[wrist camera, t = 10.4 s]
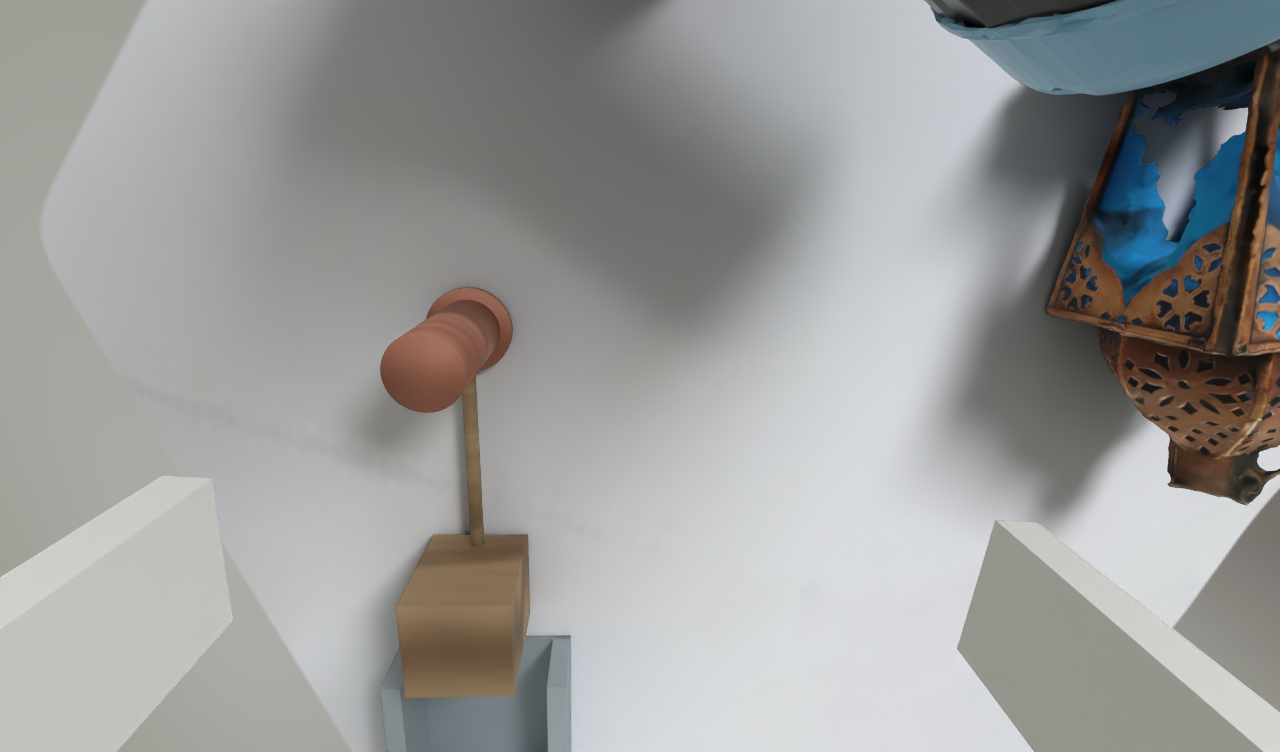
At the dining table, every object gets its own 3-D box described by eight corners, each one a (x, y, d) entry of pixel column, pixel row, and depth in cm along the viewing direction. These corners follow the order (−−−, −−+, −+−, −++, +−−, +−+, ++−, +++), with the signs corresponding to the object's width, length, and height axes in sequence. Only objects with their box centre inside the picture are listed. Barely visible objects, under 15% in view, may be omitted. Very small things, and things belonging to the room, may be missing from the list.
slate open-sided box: (404, 637, 40) (379, 689, 36) (570, 635, 41) (566, 686, 37) (417, 770, 44) (396, 832, 40) (571, 767, 45) (566, 828, 40)
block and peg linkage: (415, 286, 33) (345, 317, 25) (521, 288, 34) (491, 320, 25) (440, 611, 40) (392, 728, 31) (530, 610, 40) (508, 726, 31)
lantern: (1063, 57, 38) (1053, 422, 44) (1032, 12, 26) (1024, 523, 32) (1489, -47, 28) (1401, 449, 34) (1765, -202, 16) (1551, 611, 22)
